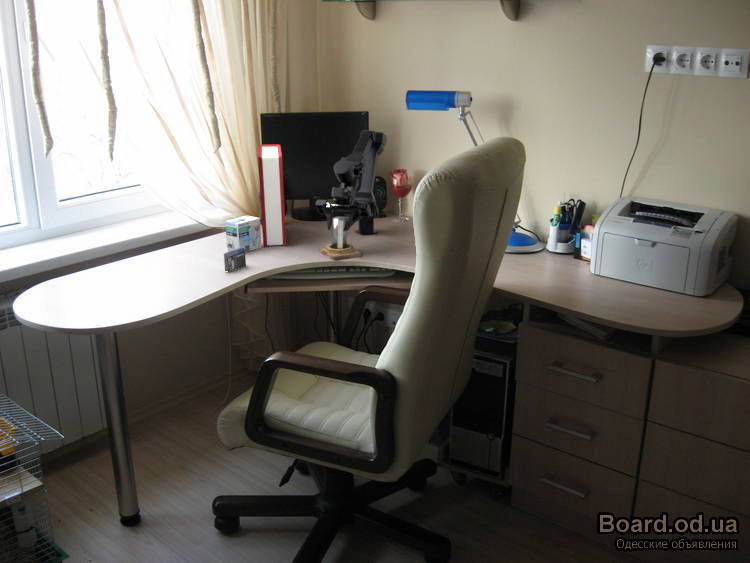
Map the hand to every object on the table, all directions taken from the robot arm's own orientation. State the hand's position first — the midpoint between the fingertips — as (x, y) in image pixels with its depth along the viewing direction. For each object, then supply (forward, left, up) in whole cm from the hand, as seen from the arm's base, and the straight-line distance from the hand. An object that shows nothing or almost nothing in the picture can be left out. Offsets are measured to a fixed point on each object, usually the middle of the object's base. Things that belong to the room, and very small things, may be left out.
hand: (337, 229), depth 247 cm
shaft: (-1, +1, -7) cm, 7 cm away
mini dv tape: (-3, -35, -9) cm, 36 cm away
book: (-33, -10, -9) cm, 36 cm away
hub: (-1, +1, -9) cm, 9 cm away
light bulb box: (-23, -25, -9) cm, 35 cm away
